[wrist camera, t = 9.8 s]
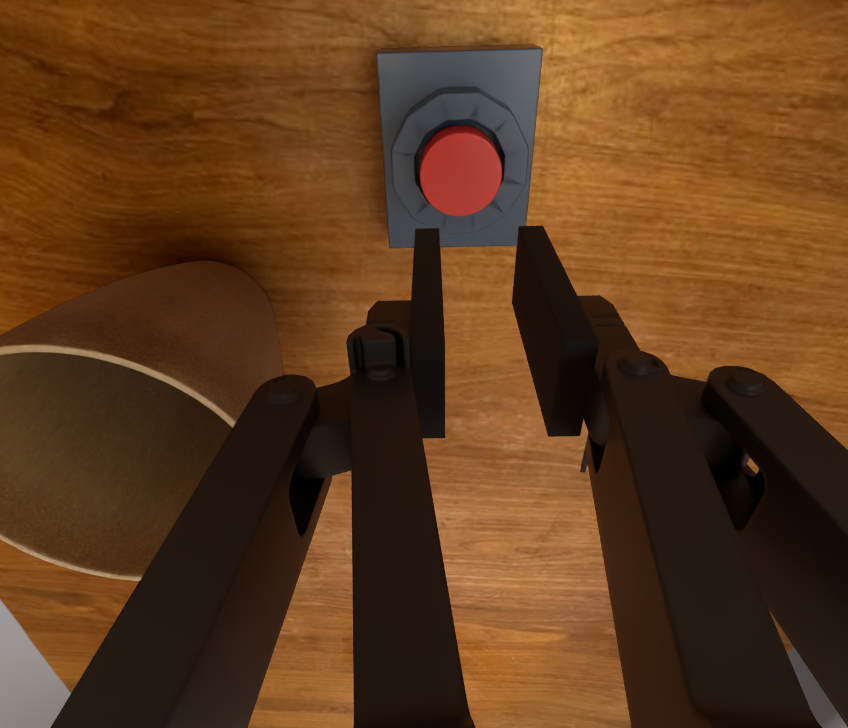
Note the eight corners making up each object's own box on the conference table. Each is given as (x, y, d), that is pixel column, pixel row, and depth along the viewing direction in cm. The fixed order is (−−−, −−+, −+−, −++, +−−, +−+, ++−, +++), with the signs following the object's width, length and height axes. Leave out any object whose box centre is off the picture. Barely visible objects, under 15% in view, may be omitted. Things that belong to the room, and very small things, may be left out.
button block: (379, 48, 26) (372, 56, 23) (535, 44, 26) (550, 51, 23) (391, 234, 32) (387, 261, 29) (518, 231, 32) (529, 258, 29)
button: (419, 125, 25) (418, 133, 24) (500, 123, 25) (504, 131, 24) (421, 206, 28) (421, 217, 26) (495, 204, 27) (499, 216, 26)
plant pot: (276, 419, 41) (207, 612, 29) (84, 331, 37) (-103, 516, 24) (370, 282, 34) (335, 458, 21) (146, 149, 29) (-75, 274, 16)
